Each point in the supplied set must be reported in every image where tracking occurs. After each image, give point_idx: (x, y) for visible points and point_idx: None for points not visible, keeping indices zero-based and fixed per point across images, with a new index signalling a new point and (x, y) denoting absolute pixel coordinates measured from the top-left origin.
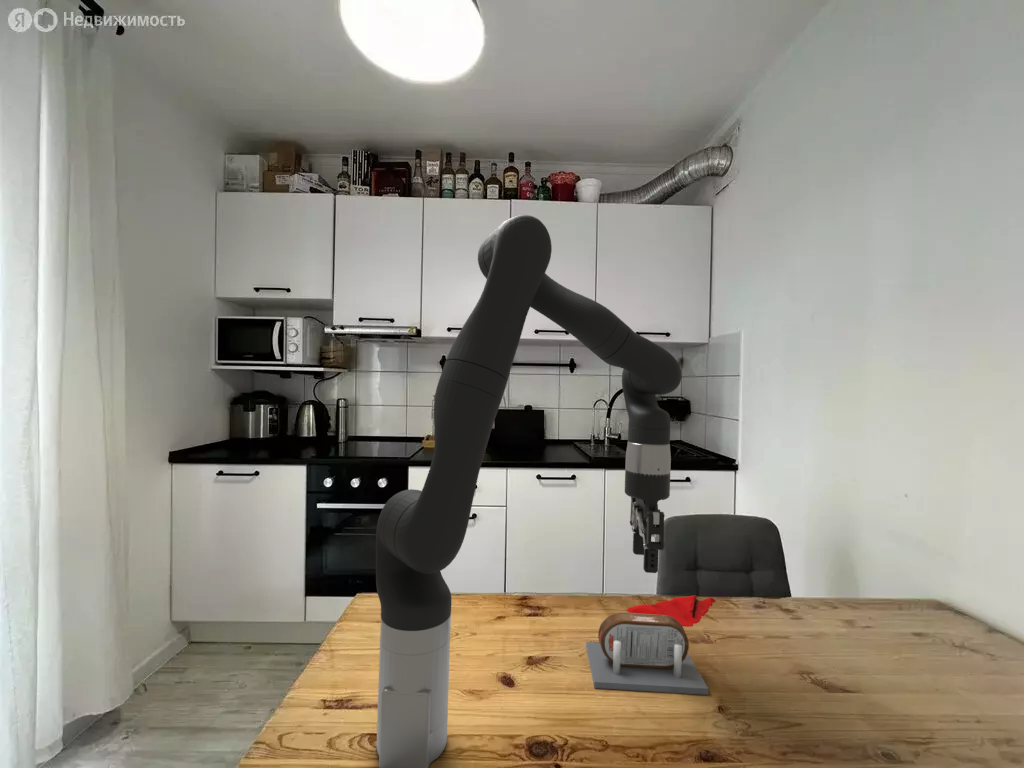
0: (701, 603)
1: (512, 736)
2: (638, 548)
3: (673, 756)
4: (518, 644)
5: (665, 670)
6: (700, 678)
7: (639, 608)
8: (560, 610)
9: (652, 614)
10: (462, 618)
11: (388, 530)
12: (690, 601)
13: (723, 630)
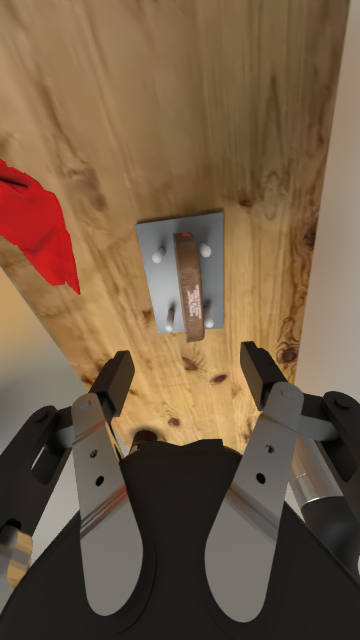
0: None
1: None
2: (128, 372)
3: (307, 269)
4: (170, 377)
5: None
6: (203, 217)
7: (52, 272)
8: (96, 352)
9: (181, 291)
10: (144, 411)
11: None
12: None
13: (39, 132)
